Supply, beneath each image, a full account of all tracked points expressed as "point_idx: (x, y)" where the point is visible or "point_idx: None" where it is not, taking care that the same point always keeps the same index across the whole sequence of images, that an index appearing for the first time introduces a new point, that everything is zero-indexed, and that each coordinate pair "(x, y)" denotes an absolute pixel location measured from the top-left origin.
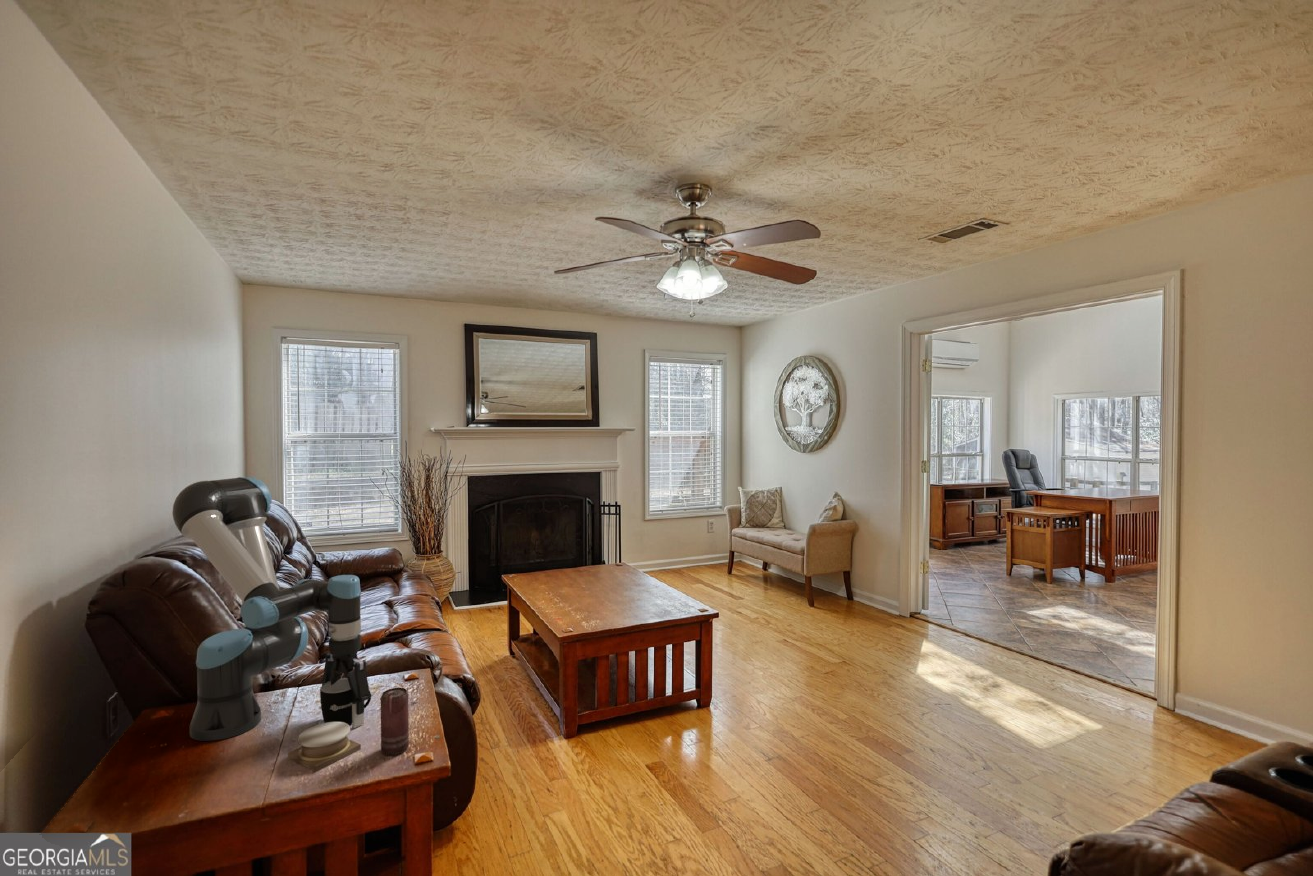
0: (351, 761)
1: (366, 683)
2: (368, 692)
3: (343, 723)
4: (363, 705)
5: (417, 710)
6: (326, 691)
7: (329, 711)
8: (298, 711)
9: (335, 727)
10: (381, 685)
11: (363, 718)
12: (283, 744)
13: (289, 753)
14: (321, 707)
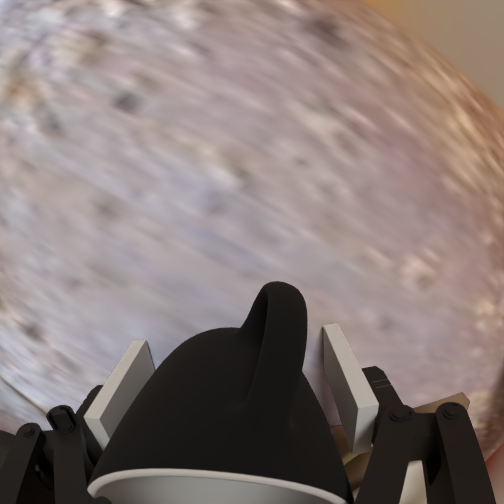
0: (475, 420)
1: (484, 491)
2: (471, 436)
3: (418, 470)
4: (395, 396)
5: (414, 77)
6: (134, 501)
7: (273, 488)
8: (26, 385)
9: (412, 488)
10: (17, 59)
11: (343, 337)
12: None
13: None
14: (209, 495)
